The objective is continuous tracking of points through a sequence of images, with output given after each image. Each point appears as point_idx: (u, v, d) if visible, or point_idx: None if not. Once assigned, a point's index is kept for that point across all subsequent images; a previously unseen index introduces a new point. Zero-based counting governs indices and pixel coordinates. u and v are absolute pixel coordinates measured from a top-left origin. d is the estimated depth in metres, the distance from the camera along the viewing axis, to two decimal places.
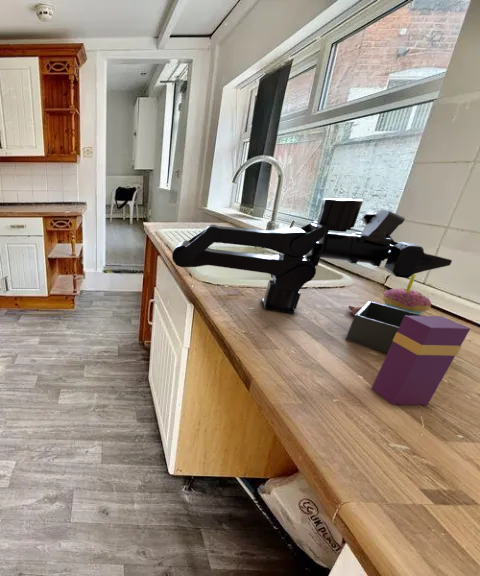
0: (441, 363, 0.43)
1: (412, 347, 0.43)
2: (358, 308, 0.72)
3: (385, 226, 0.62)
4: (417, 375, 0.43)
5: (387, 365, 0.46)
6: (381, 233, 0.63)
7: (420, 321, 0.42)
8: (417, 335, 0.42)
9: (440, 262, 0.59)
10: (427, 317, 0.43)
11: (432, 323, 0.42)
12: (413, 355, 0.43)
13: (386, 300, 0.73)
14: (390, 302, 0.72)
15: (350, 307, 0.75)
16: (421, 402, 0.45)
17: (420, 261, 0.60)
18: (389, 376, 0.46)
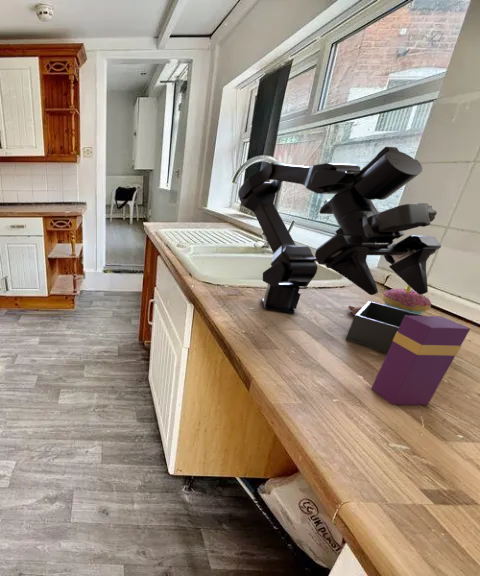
0: (441, 363, 0.43)
1: (412, 347, 0.43)
2: (358, 308, 0.72)
3: (385, 217, 0.49)
4: (417, 375, 0.43)
5: (387, 365, 0.46)
6: (375, 221, 0.51)
7: (420, 321, 0.42)
8: (417, 335, 0.42)
9: (364, 283, 0.50)
10: (427, 317, 0.43)
11: (432, 323, 0.42)
12: (413, 355, 0.43)
13: (386, 300, 0.73)
14: (390, 302, 0.72)
15: (350, 307, 0.75)
16: (421, 402, 0.45)
17: (353, 267, 0.51)
18: (389, 376, 0.46)
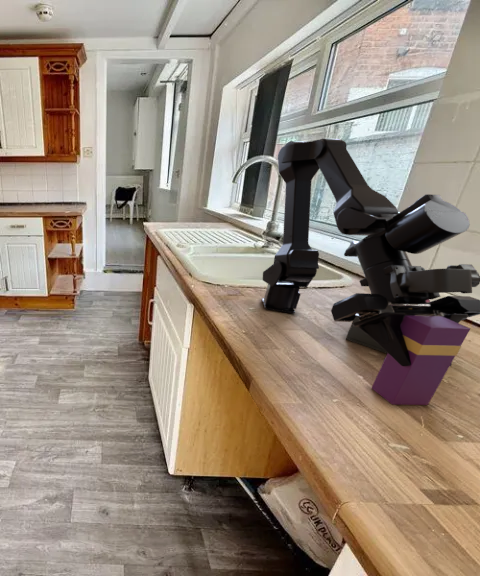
0: (441, 363, 0.43)
1: (412, 347, 0.43)
2: None
3: (417, 278, 0.43)
4: (417, 375, 0.43)
5: (387, 365, 0.46)
6: (405, 280, 0.44)
7: (420, 321, 0.42)
8: (417, 335, 0.42)
9: (396, 352, 0.44)
10: (427, 317, 0.43)
11: (432, 323, 0.42)
12: (413, 355, 0.43)
13: None
14: None
15: None
16: (421, 402, 0.45)
17: (384, 331, 0.45)
18: (389, 376, 0.46)
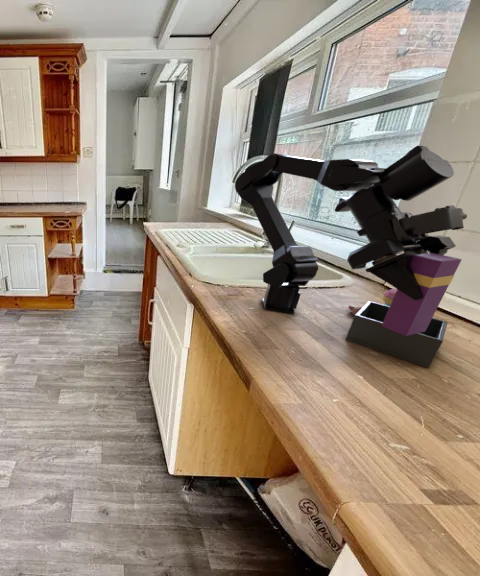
0: (440, 292, 0.49)
1: (423, 281, 0.48)
2: (358, 308, 0.72)
3: (421, 220, 0.48)
4: (425, 306, 0.49)
5: (397, 302, 0.51)
6: (409, 224, 0.49)
7: (428, 257, 0.48)
8: (428, 270, 0.48)
9: (409, 289, 0.49)
10: (426, 254, 0.50)
11: (437, 258, 0.47)
12: (425, 288, 0.48)
13: (386, 300, 0.73)
14: (390, 302, 0.72)
15: (350, 307, 0.75)
16: (422, 330, 0.52)
17: (395, 271, 0.50)
18: (400, 311, 0.51)
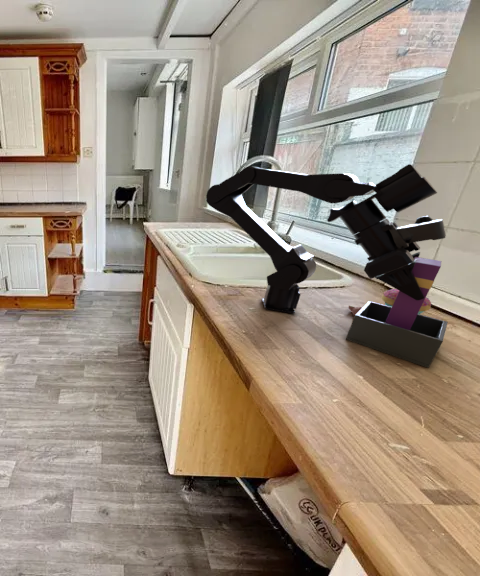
0: None
1: (424, 284, 0.55)
2: (358, 308, 0.72)
3: (419, 231, 0.54)
4: None
5: (399, 303, 0.58)
6: (407, 234, 0.55)
7: (426, 263, 0.55)
8: (428, 274, 0.54)
9: (413, 291, 0.56)
10: (417, 259, 0.57)
11: (432, 263, 0.55)
12: (426, 290, 0.55)
13: (386, 300, 0.73)
14: (390, 302, 0.72)
15: (350, 307, 0.75)
16: None
17: (400, 277, 0.56)
18: (403, 311, 0.58)
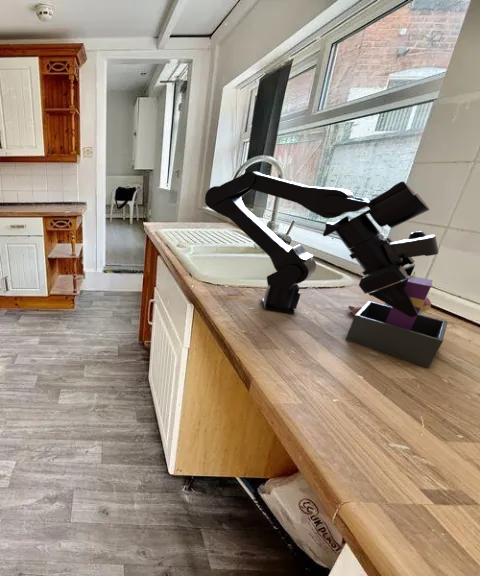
0: None
1: (415, 303, 0.56)
2: (358, 308, 0.72)
3: (412, 247, 0.55)
4: None
5: (392, 320, 0.59)
6: (401, 250, 0.56)
7: (417, 282, 0.56)
8: (419, 293, 0.56)
9: (406, 308, 0.56)
10: (409, 278, 0.58)
11: (422, 282, 0.56)
12: (417, 309, 0.56)
13: None
14: None
15: (350, 307, 0.75)
16: None
17: (394, 293, 0.56)
18: None
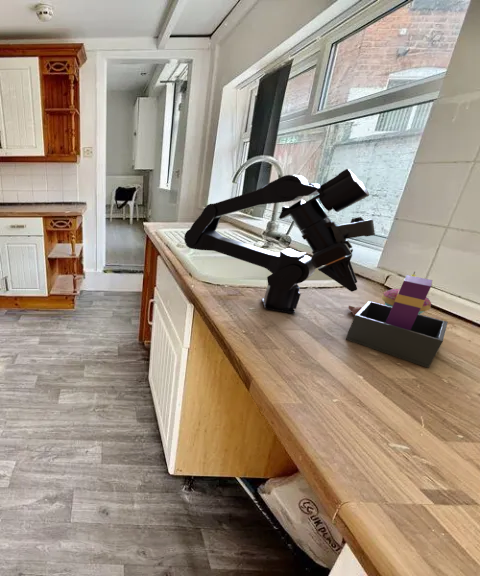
0: None
1: (415, 303, 0.56)
2: (358, 308, 0.72)
3: (354, 228, 0.62)
4: None
5: (392, 320, 0.59)
6: (345, 231, 0.62)
7: (417, 282, 0.56)
8: (419, 293, 0.56)
9: (348, 283, 0.61)
10: (409, 278, 0.58)
11: (422, 282, 0.56)
12: (417, 309, 0.56)
13: (386, 300, 0.73)
14: (390, 302, 0.72)
15: (350, 307, 0.75)
16: None
17: (339, 269, 0.62)
18: None
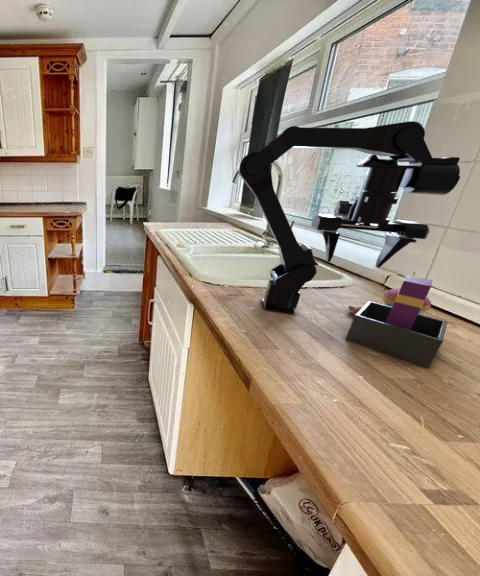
0: None
1: (415, 303, 0.56)
2: (358, 308, 0.72)
3: None
4: None
5: (392, 320, 0.59)
6: None
7: (417, 282, 0.56)
8: (419, 293, 0.56)
9: None
10: (409, 278, 0.58)
11: (422, 282, 0.56)
12: (417, 309, 0.56)
13: (386, 300, 0.73)
14: (390, 302, 0.72)
15: (350, 307, 0.75)
16: None
17: None
18: None
